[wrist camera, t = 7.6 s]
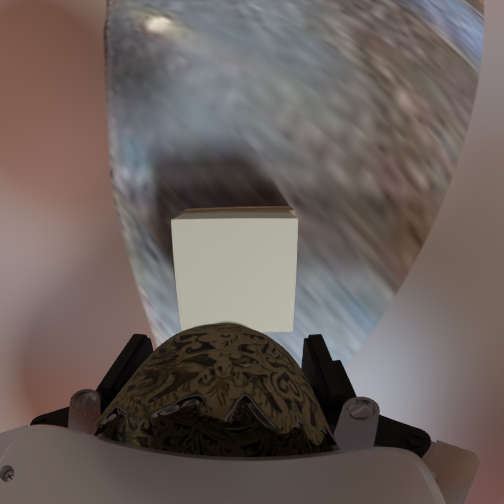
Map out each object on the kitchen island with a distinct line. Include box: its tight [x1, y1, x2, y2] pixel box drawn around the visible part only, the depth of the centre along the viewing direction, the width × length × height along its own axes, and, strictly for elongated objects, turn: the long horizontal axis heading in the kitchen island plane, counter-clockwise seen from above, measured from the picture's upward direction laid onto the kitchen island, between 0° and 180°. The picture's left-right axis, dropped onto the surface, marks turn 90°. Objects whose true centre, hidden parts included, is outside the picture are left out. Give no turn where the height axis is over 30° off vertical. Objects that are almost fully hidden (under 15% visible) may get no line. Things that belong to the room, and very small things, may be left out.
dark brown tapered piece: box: [94, 321, 340, 457], centre depth 9 cm, size 7×7×8 cm
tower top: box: [171, 212, 298, 332], centre depth 27 cm, size 11×11×4 cm
